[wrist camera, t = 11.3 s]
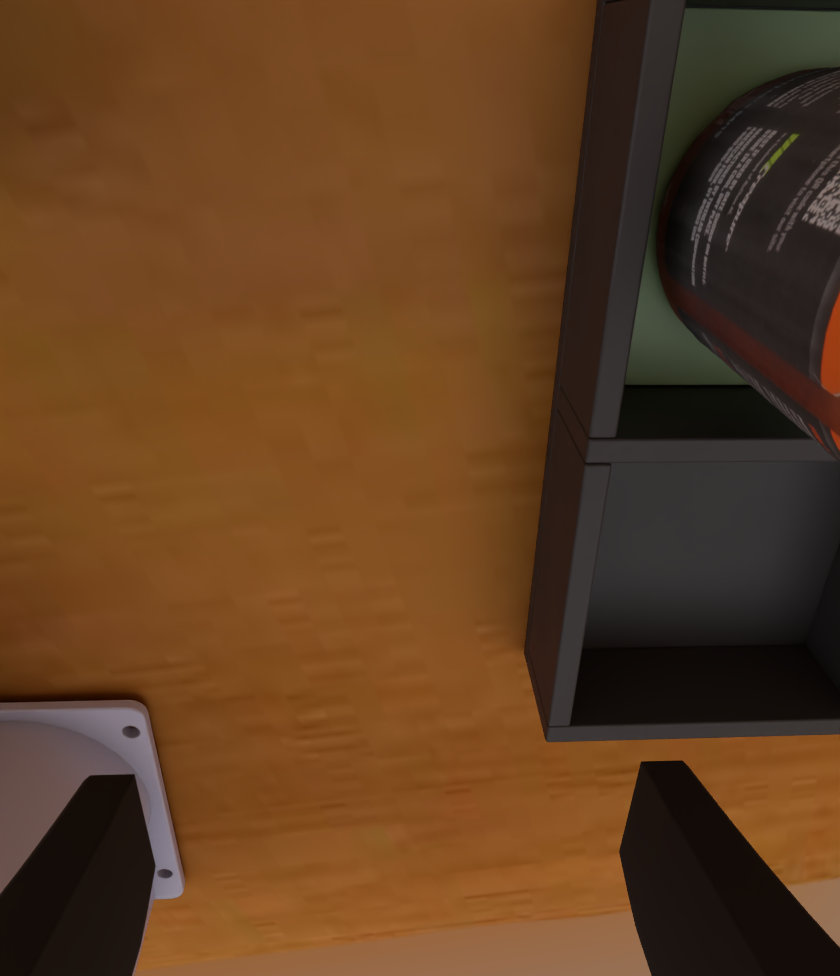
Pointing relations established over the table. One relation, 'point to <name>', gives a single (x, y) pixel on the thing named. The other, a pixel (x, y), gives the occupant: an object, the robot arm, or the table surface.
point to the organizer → (676, 429)
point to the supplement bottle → (765, 245)
